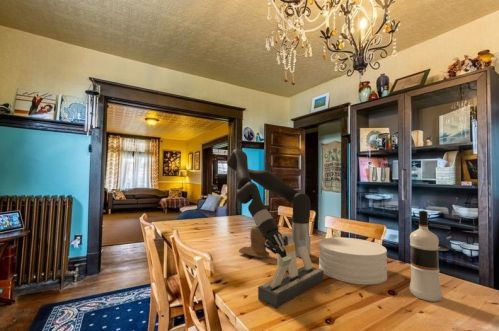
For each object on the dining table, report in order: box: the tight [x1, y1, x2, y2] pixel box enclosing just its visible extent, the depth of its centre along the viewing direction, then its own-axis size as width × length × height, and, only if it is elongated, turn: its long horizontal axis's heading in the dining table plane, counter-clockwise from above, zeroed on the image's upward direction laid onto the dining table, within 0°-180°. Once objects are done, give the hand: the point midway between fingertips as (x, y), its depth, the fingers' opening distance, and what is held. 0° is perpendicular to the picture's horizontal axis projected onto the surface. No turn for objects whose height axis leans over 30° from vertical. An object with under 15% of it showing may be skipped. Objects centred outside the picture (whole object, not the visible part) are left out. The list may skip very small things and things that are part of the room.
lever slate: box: [296, 240, 314, 271], centre depth 97 cm, size 1×4×12 cm, turn 135°
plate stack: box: [318, 236, 388, 285], centre depth 106 cm, size 28×28×12 cm
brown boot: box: [238, 225, 270, 259], centre depth 126 cm, size 15×12×15 cm
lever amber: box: [285, 244, 299, 280], centre depth 88 cm, size 1×4×12 cm, turn 135°
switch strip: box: [257, 266, 325, 309], centre depth 87 cm, size 8×30×4 cm, turn 134°
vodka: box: [408, 210, 443, 303], centre depth 84 cm, size 9×9×30 cm
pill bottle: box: [276, 233, 295, 272], centre depth 109 cm, size 8×8×15 cm
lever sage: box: [270, 256, 292, 289], centre depth 79 cm, size 1×4×12 cm, turn 134°
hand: (288, 261), depth 89 cm, fingers closed
